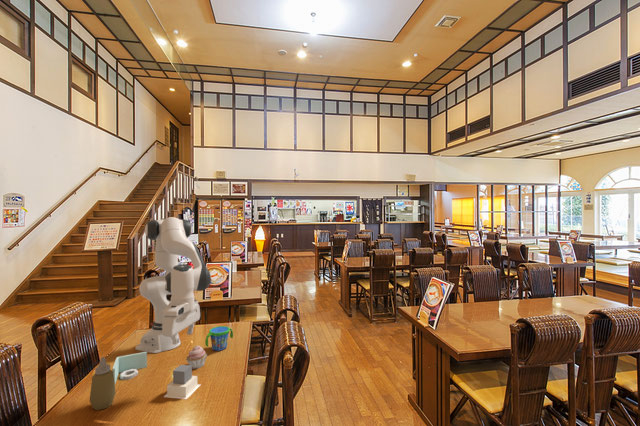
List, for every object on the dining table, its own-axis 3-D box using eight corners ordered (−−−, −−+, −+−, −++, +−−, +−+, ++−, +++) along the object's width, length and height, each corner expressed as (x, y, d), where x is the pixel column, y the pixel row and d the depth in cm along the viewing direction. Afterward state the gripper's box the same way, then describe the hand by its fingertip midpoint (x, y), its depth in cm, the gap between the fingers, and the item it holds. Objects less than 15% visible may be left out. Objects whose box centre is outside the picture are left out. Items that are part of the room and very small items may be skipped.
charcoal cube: (173, 383, 119) (172, 370, 119) (180, 376, 124) (180, 364, 124) (184, 384, 118) (184, 371, 118) (191, 377, 123) (191, 365, 123)
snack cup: (228, 341, 171) (228, 323, 171) (237, 346, 163) (237, 328, 163) (201, 349, 160) (201, 330, 160) (209, 356, 152) (209, 336, 152)
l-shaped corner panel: (112, 386, 127) (112, 368, 127) (116, 373, 138) (116, 357, 138) (145, 379, 132) (145, 362, 132) (146, 367, 143) (146, 351, 143)
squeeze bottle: (98, 399, 117) (98, 353, 117) (120, 398, 118) (120, 352, 118) (84, 413, 109) (84, 363, 109) (107, 411, 109) (107, 362, 110)
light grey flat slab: (148, 400, 116) (148, 398, 116) (171, 380, 130) (171, 379, 130) (190, 404, 113) (190, 402, 113) (210, 384, 127) (210, 382, 127)
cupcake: (196, 373, 136) (196, 351, 136) (181, 369, 139) (181, 347, 140) (211, 364, 144) (211, 343, 144) (197, 360, 148) (197, 340, 148)
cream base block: (167, 395, 118) (167, 385, 118) (179, 384, 126) (179, 374, 126) (185, 397, 116) (185, 386, 116) (197, 385, 124) (197, 376, 124)
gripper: (190, 297, 133) (190, 328, 133) (158, 312, 113) (159, 349, 113) (203, 298, 132) (204, 329, 132) (173, 313, 112) (174, 350, 112)
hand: (183, 338), depth 123 cm, fingers open, 8 cm apart
